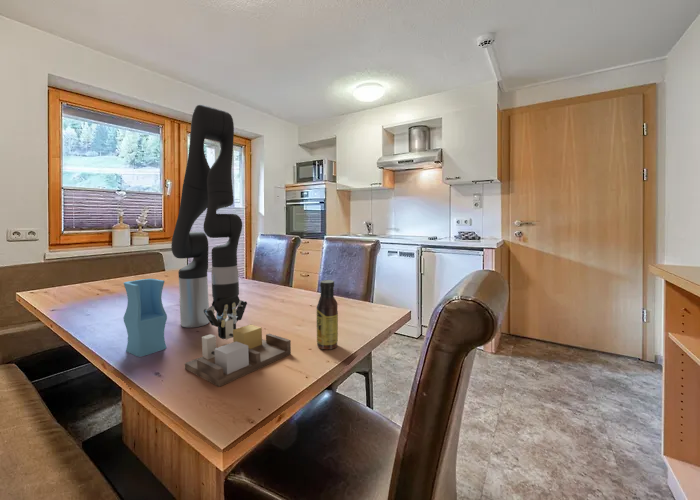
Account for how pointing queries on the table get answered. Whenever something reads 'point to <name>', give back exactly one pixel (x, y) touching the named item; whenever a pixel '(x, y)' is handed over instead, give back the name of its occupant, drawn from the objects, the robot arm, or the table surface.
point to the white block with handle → (225, 354)
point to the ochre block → (244, 334)
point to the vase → (145, 317)
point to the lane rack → (258, 358)
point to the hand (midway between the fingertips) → (227, 336)
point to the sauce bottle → (327, 317)
